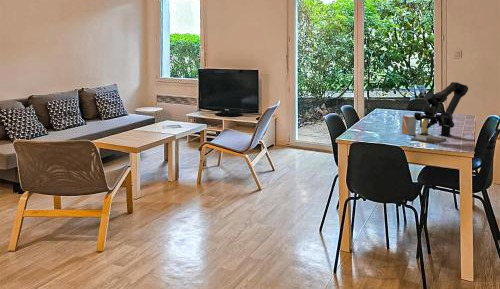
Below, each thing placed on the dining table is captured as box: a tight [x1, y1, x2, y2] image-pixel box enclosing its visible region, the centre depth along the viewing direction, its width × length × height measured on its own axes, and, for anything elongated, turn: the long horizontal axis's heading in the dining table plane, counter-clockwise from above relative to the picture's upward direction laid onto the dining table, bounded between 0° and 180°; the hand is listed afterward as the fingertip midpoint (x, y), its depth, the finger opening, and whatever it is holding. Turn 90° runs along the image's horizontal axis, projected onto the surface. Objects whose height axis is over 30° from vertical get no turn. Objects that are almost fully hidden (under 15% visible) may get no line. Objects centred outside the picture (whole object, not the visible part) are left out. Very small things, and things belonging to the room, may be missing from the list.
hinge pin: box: [420, 119, 430, 136], centre depth 296 cm, size 4×4×12 cm
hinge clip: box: [415, 132, 434, 141], centre depth 297 cm, size 8×8×3 cm
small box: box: [401, 114, 417, 136], centre depth 319 cm, size 8×6×13 cm
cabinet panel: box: [410, 136, 447, 144], centre depth 299 cm, size 16×16×1 cm
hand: (423, 127), depth 295 cm, fingers closed on hinge pin, 4 cm apart
